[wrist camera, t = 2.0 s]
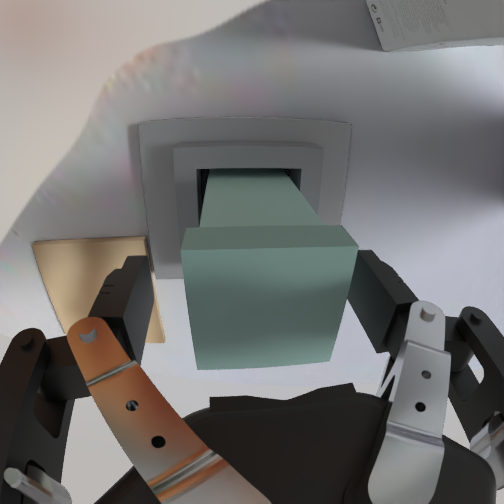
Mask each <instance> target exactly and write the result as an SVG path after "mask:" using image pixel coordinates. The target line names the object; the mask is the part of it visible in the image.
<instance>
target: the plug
mask: <svg viewBox="0 0 504 504" xmlns="http://www.w3.org/2000/svg"><path fill="white" fill-rule="evenodd" d="M358 247H359V246H358V245H357V243H356V242H355V241H354V240H353V238H352V237H351V236H350V235H349V233H348V232H347V231H346V230H345V228H344V227H343V226H342V225H324V224H323V222H322V221H321V220H320V218H319V217H318V215H317V214H316V213H315V211H314V210H313V208H312V207H311V206H310V204H309V203H308V202H307V200H306V199H305V198H304V196H303V195H302V194H301V192H300V191H299V190H298V188H297V187H296V186H295V184H294V183H293V182H292V180H291V179H290V178H289V176H288V175H287V174H286V173H285V171H284V170H283V169H282V168H213V169H209V175H208V180H207V185H206V191H205V196H204V202H203V208H202V214H201V220H200V226H199V227H194V228H186V231H185V235H184V239H183V243H182V247H181V258H182V267H183V275H184V284H185V292H186V299H187V306H188V314H189V321H190V327H191V334H192V340H193V346H194V353H195V358H196V364H197V370H213V369H244V368H262V367H276V366H289V365H299V364H309V363H318V362H326V361H330V358H331V355H332V351H333V348H334V344H335V341H336V338H337V334H338V330H339V327H340V323H341V319H342V316H343V312H344V308H345V304H346V300H347V296H348V292H349V288H350V284H351V279H352V275H353V271H354V266H355V262H356V257H357V252H358Z"/></svg>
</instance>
